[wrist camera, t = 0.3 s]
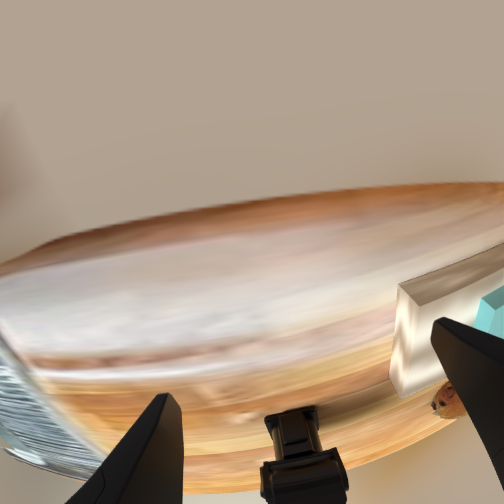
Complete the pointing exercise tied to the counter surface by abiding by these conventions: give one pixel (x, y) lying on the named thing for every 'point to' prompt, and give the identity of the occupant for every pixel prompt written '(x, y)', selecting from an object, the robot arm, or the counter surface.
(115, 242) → the counter surface
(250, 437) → the counter surface
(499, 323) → the teal rectangular block
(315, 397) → the counter surface
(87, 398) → the counter surface
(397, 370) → the board
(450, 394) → the brown rounded dome
